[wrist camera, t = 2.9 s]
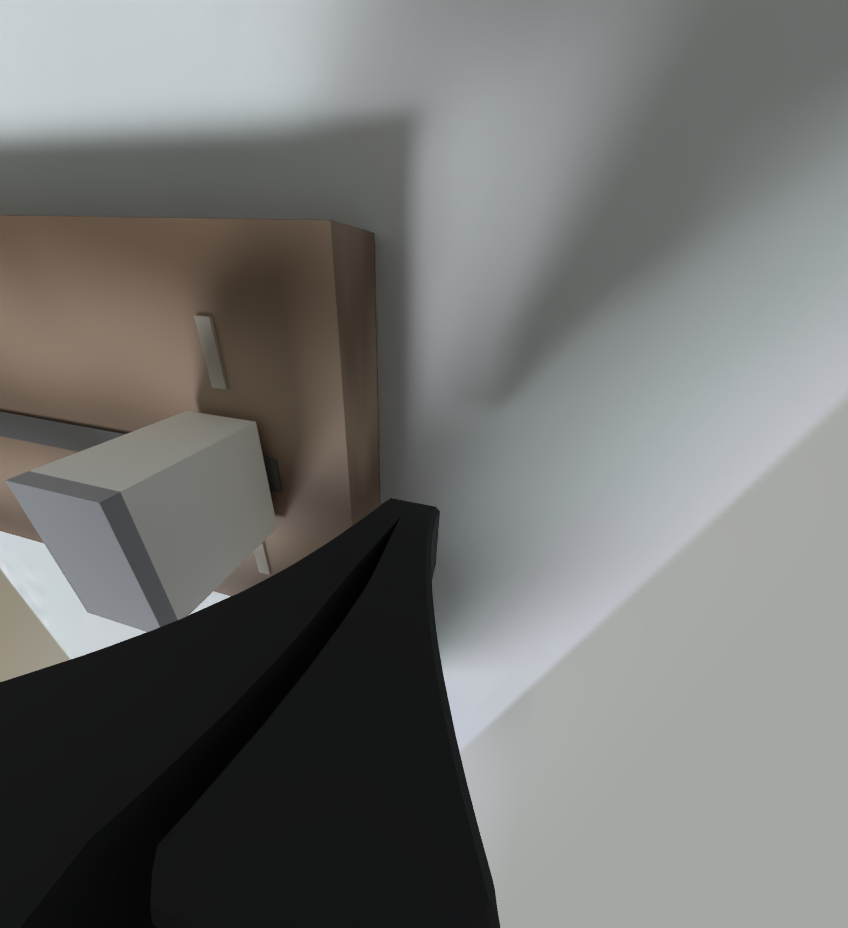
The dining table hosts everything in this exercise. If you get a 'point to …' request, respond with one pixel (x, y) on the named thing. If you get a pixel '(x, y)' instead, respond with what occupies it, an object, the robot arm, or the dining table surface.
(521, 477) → the dining table surface
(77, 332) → the slider board
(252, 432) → the fader tab
